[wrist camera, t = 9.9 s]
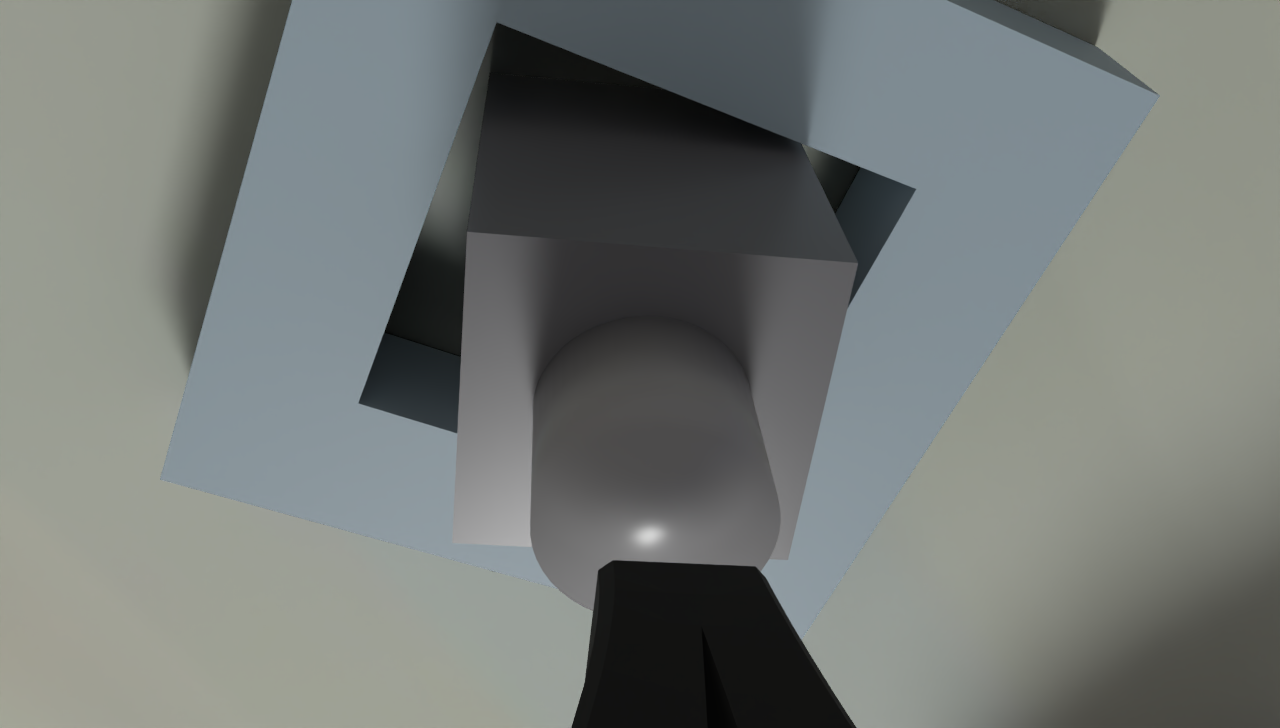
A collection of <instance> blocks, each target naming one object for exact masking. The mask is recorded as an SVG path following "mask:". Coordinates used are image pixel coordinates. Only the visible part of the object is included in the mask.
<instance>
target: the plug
mask: <svg viewBox="0 0 1280 728" xmlns="http://www.w3.org/2000/svg"><path fill="white" fill-rule="evenodd" d="M857 266H858V262H857V260H856V258H855V255H854V253H853V251H852V249H851V247H850V245H849V243H848V241H847V239H846V237H845V234H844V232H843V230H842V228H841V226H840V224H839V222H838V220H837V218H836V216H835V213H834V211H833V209H832V207H831V205H830V203H829V201H828V199H827V197H826V195H825V192H824V190H823V188H822V186H821V184H820V182H819V180H818V178H817V176H816V174H815V171H814V169H813V167H812V165H811V163H810V161H809V159H808V157H807V155H806V153H805V150H804V148H803V146H802V144H801V143H799V142H797V141H794V140H792V139H789V138H787V137H784V136H782V135H779V134H776V133H774V132H771V131H769V130H766V129H764V128H761V127H759V126H756V125H754V124H751V123H749V122H746V121H744V120H741V119H739V118H736V117H734V116H731V115H729V114H726V113H724V112H721V111H719V110H716V109H714V108H711V107H709V106H706V105H704V104H701V103H699V102H696V101H693V100H691V99H688V98H686V97H683V96H681V95H678V94H676V93H673V92H671V91H668V90H666V89H658V88H647V87H637V86H626V85H616V84H605V83H595V82H584V81H574V80H563V79H553V78H542V77H532V76H521V75H511V74H500V73H490V74H489V81H488V88H487V95H486V102H485V109H484V116H483V123H482V130H481V137H480V144H479V151H478V158H477V165H476V172H475V179H474V186H473V193H472V200H471V207H470V214H469V221H468V228H467V242H466V263H465V284H464V305H463V326H462V347H461V368H460V390H459V411H458V432H457V453H456V474H455V495H454V516H453V537H452V543H461V544H481V545H501V546H520V547H532V548H533V551H534V554H535V557H536V560H537V561H538V563H539V565H540V567H541V569H542V571H543V572H544V573H545V575H546V576H547V577H548V579H549V580H550V581H551V582H552V583H553V584H554V585H555V586H556V587H557V588H558V589H559V590H560V591H561V592H562V593H563V594H565V595H566V596H567V597H569V598H570V599H571V600H573V601H575V602H576V603H578V604H580V605H582V606H583V607H586V608H588V609H590V610H593V609H594V601H595V592H596V584H597V575H598V570H599V569H600V568H602V567H603V566H605V565H606V564H608V563H609V562H611V561H612V560H622V561H645V562H668V563H691V564H714V565H737V566H756V567H757V568H758V569H759V571H760V572H761V571H762V569H763V568H764V566H765V565H766V563H767V562H768V560H769V559H776V560H788V558H789V554H790V549H791V545H792V541H793V537H794V532H795V528H796V524H797V520H798V516H799V511H800V507H801V503H802V499H803V494H804V490H805V486H806V482H807V477H808V473H809V469H810V465H811V461H812V456H813V452H814V448H815V444H816V439H817V435H818V431H819V427H820V423H821V418H822V414H823V410H824V406H825V401H826V397H827V393H828V389H829V384H830V380H831V376H832V372H833V368H834V363H835V359H836V355H837V351H838V346H839V342H840V338H841V334H842V329H843V325H844V321H845V317H846V313H847V308H848V304H849V300H850V296H851V291H852V287H853V283H854V279H855V274H856V270H857Z"/></svg>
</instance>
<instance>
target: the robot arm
mask: <svg viewBox="0 0 1280 728" xmlns="http://www.w3.org/2000/svg"><path fill="white" fill-rule="evenodd" d="M572 728H856V726H855V725H854V723H853V722H852V720H851V719H850V717H849V716H848V714H847V713H846V711H845V710H844V708H843V707H842V705H841V703H840V702H839V700H838V699H837V697H836V696H835V694H834V693H833V691H832V689H831V688H830V686H829V685H828V683H827V681H826V680H825V678H824V677H823V675H822V673H821V672H820V670H819V668H818V667H817V665H816V664H815V662H814V660H813V659H812V657H811V656H810V654H809V652H808V651H807V649H806V647H805V645H804V644H803V642H802V640H801V639H800V637H799V635H798V634H797V632H796V630H795V629H794V627H793V625H792V623H791V622H790V620H789V618H788V617H787V615H786V613H785V611H784V609H783V608H782V606H781V604H780V602H779V601H778V599H777V597H776V595H775V593H774V592H773V590H772V588H771V586H770V584H769V582H768V581H767V579H766V577H765V576H764V575H763V574H762V573H761V572H760V571H759V569H758V568H757V567H756V566H737V565H714V564H691V563H668V562H645V561H622V560H612V561H611V562H609V563H608V564H606V565H605V566H603V567H602V568H600V569H599V570H598V575H597V584H596V592H595V601H594V609H593V618H592V626H591V635H590V643H589V652H588V660H587V669H586V678H585V683H584V687H583V691H582V694H581V697H580V701H579V704H578V707H577V711H576V714H575V718H574V721H573V724H572Z"/></svg>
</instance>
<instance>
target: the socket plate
mask: <svg viewBox="0 0 1280 728" xmlns="http://www.w3.org/2000/svg"><path fill="white" fill-rule="evenodd" d="M496 23H500V24H502V25H505V26H507V27H510V28H512V29H515V30H517V31H520V32H522V33H525V34H528V35H530V36H533V37H535V38H538V39H540V40H543V41H545V42H548V43H550V44H553V45H555V46H558V47H560V48H563V49H565V50H568V51H570V52H573V53H575V54H578V55H580V56H583V57H585V58H588V59H590V60H593V61H595V62H598V63H600V64H603V65H605V66H608V67H610V68H613V69H616V70H618V71H621V72H623V73H626V74H628V75H631V76H633V77H636V78H638V79H641V80H643V81H646V82H648V83H651V84H653V85H656V86H658V87H661V88H663V89H666V90H668V91H671V92H673V93H676V94H678V95H681V96H683V97H686V98H688V99H691V100H693V101H696V102H699V103H701V104H704V105H706V106H709V107H711V108H714V109H716V110H719V111H721V112H724V113H726V114H729V115H731V116H734V117H736V118H739V119H741V120H744V121H746V122H749V123H751V124H754V125H756V126H759V127H761V128H764V129H766V130H769V131H771V132H774V133H776V134H779V135H782V136H784V137H787V138H789V139H792V140H794V141H797V142H799V143H802V144H804V145H807V146H809V147H812V148H814V149H817V150H819V151H822V152H824V153H827V154H829V155H832V156H834V157H837V158H839V159H842V160H844V161H847V162H849V163H852V164H854V165H857V166H859V167H861V168H860V170H859V171H858V173H857V175H856V177H855V179H854V181H853V182H852V184H851V186H850V188H849V190H848V192H847V193H846V195H845V197H844V199H843V201H842V203H841V204H840V206H839V208H838V210H837V212H836V213H835V216H836V218H837V220H838V222H839V224H840V226H841V228H842V230H843V232H844V234H845V237H846V239H847V241H848V243H849V245H850V247H851V249H852V251H853V253H854V255H855V258H856V260H857V262H858V266H857V270H856V274H855V279H854V283H853V287H852V291H851V296H850V300H849V304H848V308H847V313H846V317H845V321H844V325H843V329H842V334H841V338H840V342H839V346H838V351H837V355H836V359H835V363H834V368H833V372H832V376H831V380H830V384H829V389H828V393H827V397H826V401H825V406H824V410H823V414H822V418H821V423H820V427H819V431H818V435H817V439H816V444H815V448H814V452H813V456H812V461H811V465H810V469H809V473H808V477H807V482H806V486H805V490H804V494H803V499H802V503H801V507H800V511H799V516H798V520H797V524H796V528H795V532H794V537H793V541H792V545H791V549H790V554H789V558H788V560H776V559H769V560H768V562H767V563H766V565H765V566H764V568H763V569H762V571H761V573H762V574H763V575H764V576H765V577H766V579H767V581H768V582H769V584H770V586H771V588H772V590H773V592H774V593H775V595H776V597H777V599H778V601H779V602H780V604H781V606H782V608H783V609H784V611H785V613H786V615H787V617H788V618H789V620H790V622H791V623H792V625H793V627H794V629H795V630H796V632H797V634H798V635H799V637H800V639H801V640H802V638H803V637H804V635H805V634H806V632H807V631H808V629H809V628H810V626H811V625H812V623H813V622H814V620H815V619H816V617H817V616H818V614H819V613H820V611H821V610H822V608H823V607H824V605H825V604H826V602H827V600H828V599H829V597H830V596H831V594H832V593H833V591H834V590H835V588H836V587H837V585H838V584H839V582H840V581H841V579H842V578H843V576H844V575H845V573H846V572H847V570H848V569H849V567H850V566H851V564H852V563H853V561H854V559H855V558H856V556H857V555H858V553H859V552H860V550H861V549H862V547H863V546H864V544H865V543H866V541H867V540H868V538H869V537H870V535H871V534H872V532H873V531H874V529H875V528H876V526H877V525H878V523H879V522H880V520H881V519H882V517H883V515H884V514H885V512H886V511H887V509H888V508H889V506H890V505H891V503H892V502H893V500H894V499H895V497H896V496H897V494H898V493H899V491H900V490H901V488H902V487H903V485H904V484H905V482H906V481H907V479H908V478H909V476H910V474H911V473H912V471H913V470H914V468H915V467H916V465H917V464H918V462H919V461H920V459H921V458H922V456H923V455H924V453H925V452H926V450H927V449H928V447H929V446H930V444H931V443H932V441H933V440H934V438H935V437H936V435H937V433H938V432H939V430H940V429H941V427H942V426H943V424H944V423H945V421H946V420H947V418H948V417H949V415H950V414H951V412H952V411H953V409H954V408H955V406H956V405H957V403H958V402H959V400H960V399H961V397H962V396H963V394H964V392H965V391H966V389H967V388H968V386H969V385H970V383H971V382H972V380H973V379H974V377H975V376H976V374H977V373H978V371H979V370H980V368H981V367H982V365H983V364H984V362H985V361H986V359H987V358H988V356H989V355H990V353H991V352H992V350H993V348H994V347H995V345H996V344H997V342H998V341H999V339H1000V338H1001V336H1002V335H1003V333H1004V332H1005V330H1006V329H1007V327H1008V326H1009V324H1010V323H1011V321H1012V320H1013V318H1014V317H1015V315H1016V314H1017V312H1018V311H1019V309H1020V307H1021V306H1022V304H1023V303H1024V301H1025V300H1026V298H1027V297H1028V295H1029V294H1030V292H1031V291H1032V289H1033V288H1034V286H1035V285H1036V283H1037V282H1038V280H1039V279H1040V277H1041V276H1042V274H1043V273H1044V271H1045V270H1046V268H1047V266H1048V265H1049V263H1050V262H1051V260H1052V259H1053V257H1054V256H1055V254H1056V253H1057V251H1058V250H1059V248H1060V247H1061V245H1062V244H1063V242H1064V241H1065V239H1066V238H1067V236H1068V235H1069V233H1070V232H1071V230H1072V229H1073V227H1074V225H1075V224H1076V222H1077V221H1078V219H1079V218H1080V216H1081V215H1082V213H1083V212H1084V210H1085V209H1086V207H1087V206H1088V204H1089V203H1090V201H1091V200H1092V198H1093V197H1094V195H1095V194H1096V192H1097V191H1098V189H1099V188H1100V186H1101V185H1102V183H1103V181H1104V180H1105V178H1106V177H1107V175H1108V174H1109V172H1110V171H1111V169H1112V168H1113V166H1114V165H1115V163H1116V162H1117V160H1118V159H1119V157H1120V156H1121V154H1122V153H1123V151H1124V150H1125V148H1126V147H1127V145H1128V144H1129V142H1130V140H1131V139H1132V137H1133V136H1134V134H1135V133H1136V131H1137V130H1138V128H1139V127H1140V125H1141V124H1142V122H1143V121H1144V119H1145V118H1146V116H1147V115H1148V113H1149V112H1150V110H1151V109H1152V107H1153V106H1154V104H1155V103H1156V101H1157V99H1158V98H1159V96H1160V95H1158V94H1157V93H1156V92H1155V91H1153V90H1152V89H1151V88H1149V87H1148V86H1147V85H1146V84H1144V83H1143V82H1142V81H1140V80H1139V79H1138V78H1137V77H1135V76H1134V75H1133V74H1131V73H1130V72H1129V71H1128V70H1126V69H1125V68H1124V67H1122V66H1121V65H1120V64H1119V63H1117V62H1116V61H1115V60H1113V59H1112V58H1111V57H1110V56H1108V55H1107V54H1106V53H1104V52H1103V51H1102V50H1100V49H1099V48H1098V47H1096V46H1094V45H1092V44H1090V43H1087V42H1085V41H1083V40H1081V39H1079V38H1076V37H1074V36H1072V35H1070V34H1068V33H1065V32H1063V31H1061V30H1059V29H1056V28H1054V27H1052V26H1050V25H1048V24H1045V23H1043V22H1041V21H1039V20H1037V19H1034V18H1032V17H1030V16H1028V15H1026V14H1023V13H1021V12H1019V11H1017V10H1015V9H1012V8H1010V7H1008V6H1006V5H1003V4H1001V3H999V2H997V1H995V0H292V3H291V6H290V10H289V14H288V17H287V21H286V25H285V28H284V32H283V35H282V39H281V43H280V46H279V50H278V54H277V57H276V61H275V64H274V68H273V72H272V75H271V79H270V83H269V86H268V90H267V93H266V97H265V101H264V104H263V108H262V112H261V115H260V119H259V122H258V126H257V130H256V133H255V137H254V141H253V144H252V148H251V151H250V155H249V159H248V162H247V166H246V170H245V173H244V177H243V180H242V184H241V188H240V191H239V195H238V199H237V202H236V206H235V209H234V213H233V217H232V220H231V224H230V228H229V231H228V235H227V238H226V242H225V246H224V249H223V253H222V257H221V260H220V264H219V267H218V271H217V275H216V278H215V282H214V286H213V289H212V293H211V296H210V300H209V304H208V307H207V311H206V315H205V318H204V322H203V325H202V329H201V333H200V336H199V340H198V344H197V347H196V351H195V354H194V358H193V362H192V365H191V369H190V373H189V376H188V380H187V383H186V387H185V391H184V394H183V398H182V402H181V405H180V409H179V412H178V416H177V420H176V423H175V427H174V431H173V434H172V438H171V441H170V445H169V449H168V452H167V456H166V460H165V463H164V467H163V470H162V474H161V478H160V480H164V481H167V482H171V483H174V484H178V485H182V486H185V487H189V488H193V489H196V490H200V491H204V492H207V493H211V494H214V495H218V496H222V497H225V498H229V499H233V500H236V501H240V502H244V503H247V504H251V505H254V506H258V507H262V508H265V509H269V510H273V511H276V512H280V513H284V514H287V515H291V516H294V517H298V518H302V519H305V520H309V521H313V522H316V523H320V524H324V525H327V526H331V527H334V528H338V529H342V530H345V531H349V532H353V533H356V534H360V535H364V536H367V537H371V538H374V539H378V540H382V541H385V542H389V543H393V544H396V545H400V546H404V547H407V548H411V549H414V550H418V551H422V552H425V553H429V554H433V555H436V556H440V557H444V558H447V559H451V560H454V561H458V562H462V563H465V564H469V565H473V566H476V567H480V568H484V569H487V570H491V571H494V572H498V573H502V574H505V575H509V576H513V577H516V578H520V579H524V580H527V581H531V582H535V583H538V584H542V585H545V586H549V587H553V588H556V589H558V588H557V587H556V586H555V585H554V584H553V583H552V582H551V581H550V580H549V579H548V577H547V576H546V575H545V573H544V572H543V571H542V569H541V567H540V565H539V563H538V561H537V560H536V557H535V554H534V551H533V548H532V547H520V546H501V545H481V544H461V543H452V537H453V516H454V495H455V474H456V453H457V432H458V411H459V390H460V368H461V357H459V356H456V355H453V354H450V353H446V352H443V351H440V350H437V349H434V348H431V347H428V346H425V345H421V344H418V343H415V342H412V341H409V340H406V339H403V338H400V337H397V336H393V335H390V334H387V333H384V331H385V328H386V325H387V323H388V320H389V317H390V314H391V312H392V309H393V306H394V303H395V301H396V298H397V295H398V292H399V290H400V287H401V284H402V281H403V279H404V276H405V273H406V270H407V268H408V265H409V262H410V259H411V257H412V254H413V251H414V248H415V246H416V243H417V240H418V237H419V235H420V232H421V229H422V226H423V224H424V221H425V218H426V215H427V213H428V210H429V207H430V204H431V202H432V199H433V196H434V193H435V191H436V188H437V185H438V182H439V180H440V177H441V174H442V171H443V169H444V166H445V163H446V160H447V158H448V155H449V152H450V149H451V146H452V144H453V141H454V138H455V135H456V133H457V130H458V127H459V124H460V122H461V119H462V116H463V113H464V111H465V108H466V105H467V102H468V100H469V97H470V94H471V91H472V89H473V86H474V83H475V80H476V78H477V75H478V72H479V69H480V67H481V64H482V61H483V58H484V56H485V53H486V50H487V47H488V45H489V42H490V39H491V36H492V34H493V31H494V28H495V25H496Z"/></svg>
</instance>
